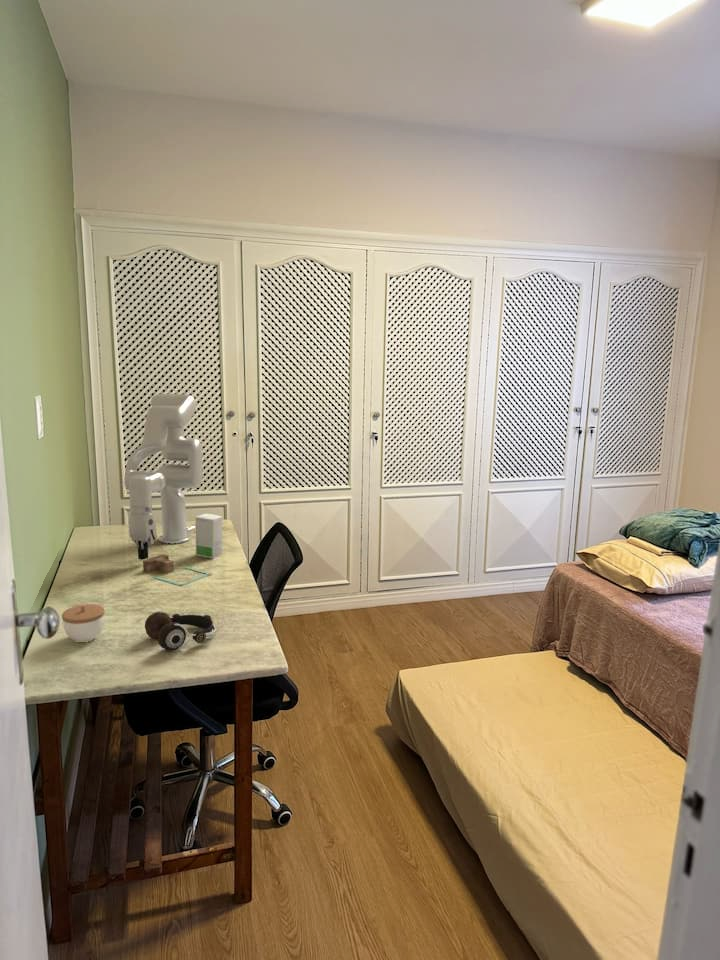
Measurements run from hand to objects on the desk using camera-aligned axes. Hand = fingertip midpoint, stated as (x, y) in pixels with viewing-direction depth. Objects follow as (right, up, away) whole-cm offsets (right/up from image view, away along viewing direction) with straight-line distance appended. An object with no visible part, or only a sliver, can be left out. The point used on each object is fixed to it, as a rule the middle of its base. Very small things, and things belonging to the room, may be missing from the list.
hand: (143, 558), depth 236 cm
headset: (+30, -16, -56) cm, 65 cm away
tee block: (+8, -4, -4) cm, 10 cm away
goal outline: (+16, -5, -9) cm, 19 cm away
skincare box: (+21, -1, +14) cm, 25 cm away
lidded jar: (+3, -15, -58) cm, 60 cm away
